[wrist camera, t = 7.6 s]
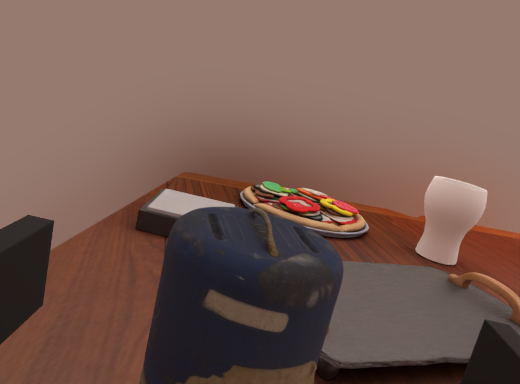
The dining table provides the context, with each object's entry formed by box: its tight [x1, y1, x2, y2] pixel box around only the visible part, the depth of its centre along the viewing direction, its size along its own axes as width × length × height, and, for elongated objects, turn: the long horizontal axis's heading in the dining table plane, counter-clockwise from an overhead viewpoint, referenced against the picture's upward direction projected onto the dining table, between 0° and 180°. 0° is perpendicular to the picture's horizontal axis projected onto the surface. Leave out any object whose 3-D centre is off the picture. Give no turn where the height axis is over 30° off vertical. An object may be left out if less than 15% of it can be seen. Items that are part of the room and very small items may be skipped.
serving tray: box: [317, 261, 520, 380], centre depth 56 cm, size 39×23×6 cm, turn 112°
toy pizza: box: [240, 181, 368, 238], centre depth 97 cm, size 28×28×4 cm
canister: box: [140, 207, 344, 384], centre depth 26 cm, size 10×10×18 cm
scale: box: [136, 189, 240, 237], centre depth 73 cm, size 14×14×4 cm
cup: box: [415, 176, 487, 265], centre depth 88 cm, size 11×11×15 cm
